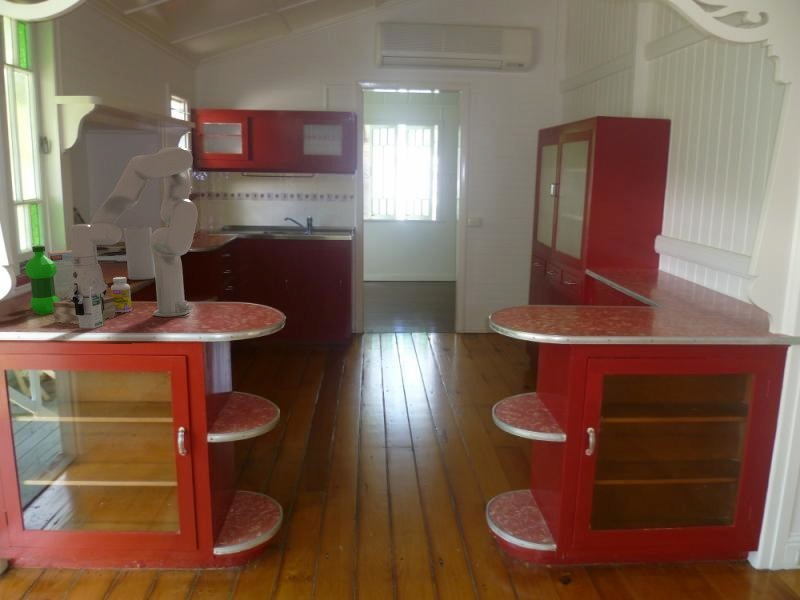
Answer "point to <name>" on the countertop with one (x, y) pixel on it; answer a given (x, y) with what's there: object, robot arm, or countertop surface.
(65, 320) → the wooden box
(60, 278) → the cracker box
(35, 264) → the plastic bottle
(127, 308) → the supplement bottle
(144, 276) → the cylinder vase
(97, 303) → the syrup box
